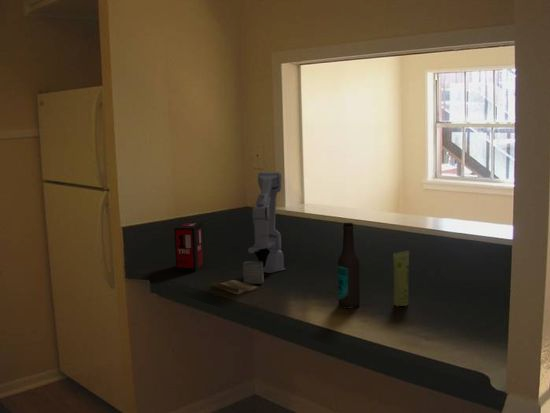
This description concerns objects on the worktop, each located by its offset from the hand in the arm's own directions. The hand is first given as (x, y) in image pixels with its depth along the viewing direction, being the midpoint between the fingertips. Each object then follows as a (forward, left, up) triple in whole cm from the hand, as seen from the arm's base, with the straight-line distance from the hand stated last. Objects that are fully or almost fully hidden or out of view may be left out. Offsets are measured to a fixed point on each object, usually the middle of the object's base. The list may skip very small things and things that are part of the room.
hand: (262, 266), depth 257 cm
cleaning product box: (+7, -43, -6) cm, 44 cm away
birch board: (+15, 0, -6) cm, 16 cm away
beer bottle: (+1, +49, -6) cm, 49 cm away
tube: (-12, +62, -6) cm, 63 cm away
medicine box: (+5, 0, -6) cm, 8 cm away
